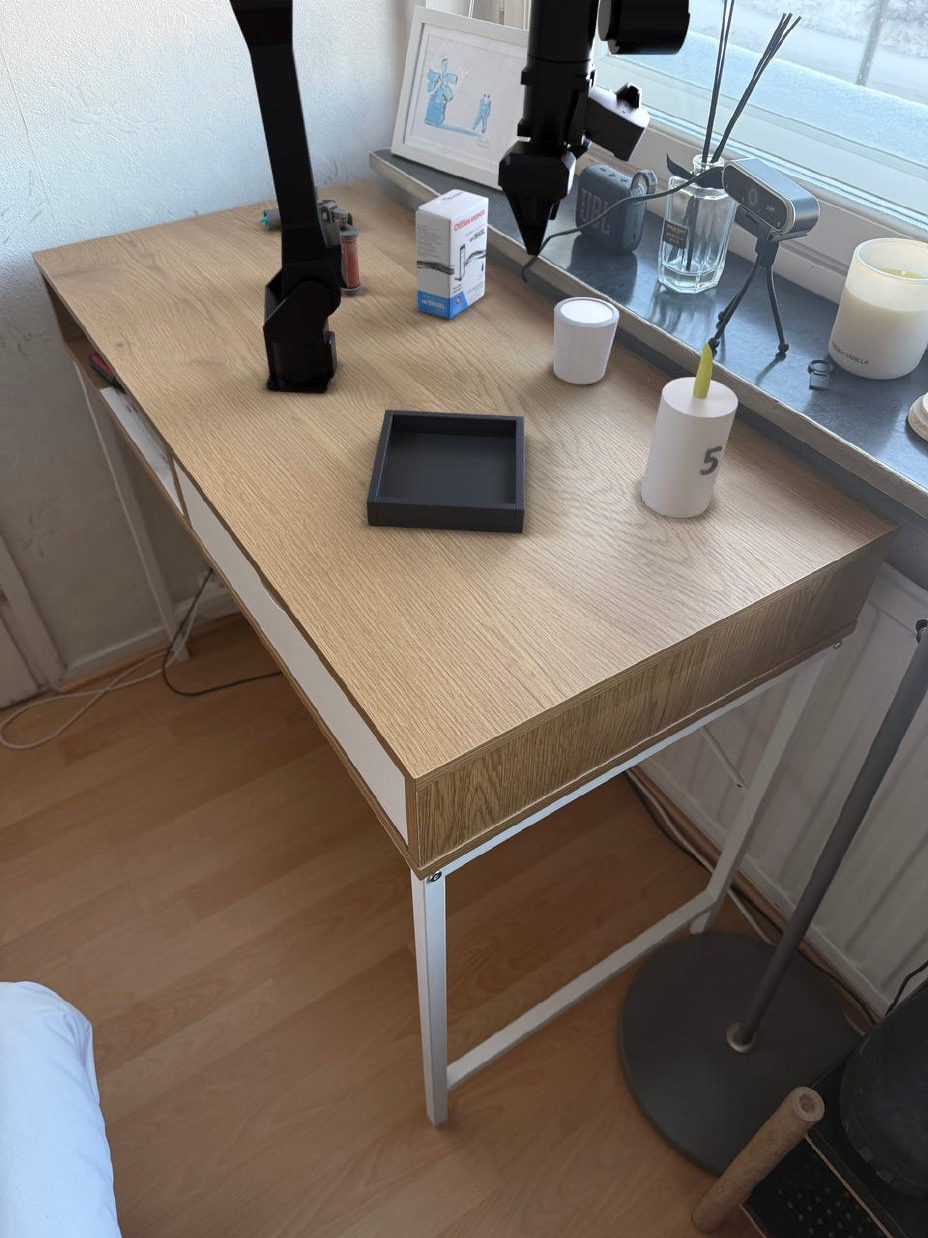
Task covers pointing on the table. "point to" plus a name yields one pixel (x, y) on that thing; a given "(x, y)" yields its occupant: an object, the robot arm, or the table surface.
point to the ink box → (451, 252)
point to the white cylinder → (583, 338)
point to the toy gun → (274, 220)
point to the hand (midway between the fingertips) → (541, 236)
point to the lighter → (344, 244)
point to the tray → (449, 472)
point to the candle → (688, 442)
